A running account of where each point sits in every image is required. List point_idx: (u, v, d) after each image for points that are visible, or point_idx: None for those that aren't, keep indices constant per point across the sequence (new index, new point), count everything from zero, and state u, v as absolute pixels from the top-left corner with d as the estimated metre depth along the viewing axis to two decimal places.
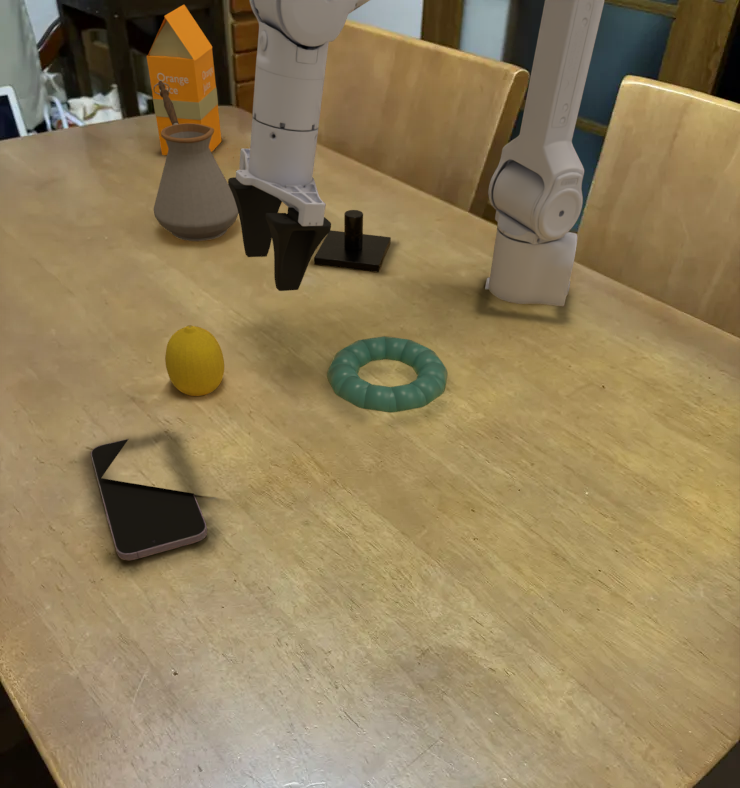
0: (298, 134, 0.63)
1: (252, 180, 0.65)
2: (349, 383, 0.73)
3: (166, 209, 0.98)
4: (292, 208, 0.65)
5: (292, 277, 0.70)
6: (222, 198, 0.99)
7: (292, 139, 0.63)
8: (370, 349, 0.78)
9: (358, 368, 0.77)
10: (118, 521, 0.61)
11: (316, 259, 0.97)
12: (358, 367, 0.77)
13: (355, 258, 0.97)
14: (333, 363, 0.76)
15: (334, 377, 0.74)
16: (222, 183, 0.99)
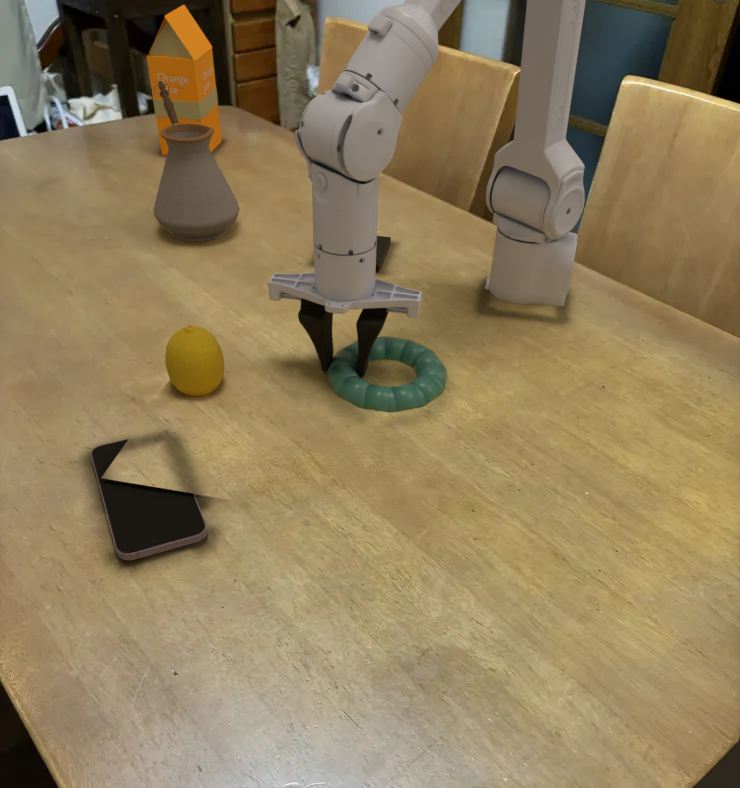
0: (375, 248, 0.67)
1: (348, 306, 0.69)
2: (349, 383, 0.73)
3: (166, 209, 0.98)
4: (386, 309, 0.71)
5: (367, 359, 0.76)
6: (222, 198, 0.99)
7: (373, 254, 0.67)
8: None
9: None
10: (118, 521, 0.61)
11: None
12: None
13: None
14: (333, 363, 0.76)
15: (334, 377, 0.74)
16: (222, 183, 0.99)
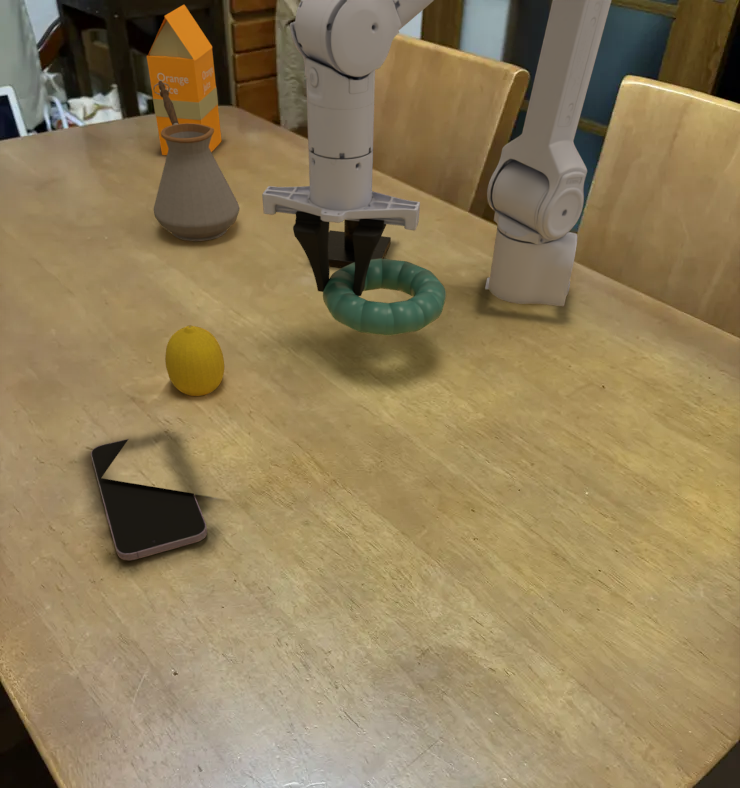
0: (372, 154, 0.66)
1: (345, 214, 0.67)
2: (345, 299, 0.71)
3: (166, 209, 0.98)
4: (383, 221, 0.69)
5: (364, 278, 0.74)
6: (222, 198, 0.99)
7: (370, 160, 0.66)
8: None
9: None
10: (118, 521, 0.61)
11: None
12: None
13: None
14: (329, 282, 0.74)
15: (330, 295, 0.73)
16: (222, 183, 0.99)
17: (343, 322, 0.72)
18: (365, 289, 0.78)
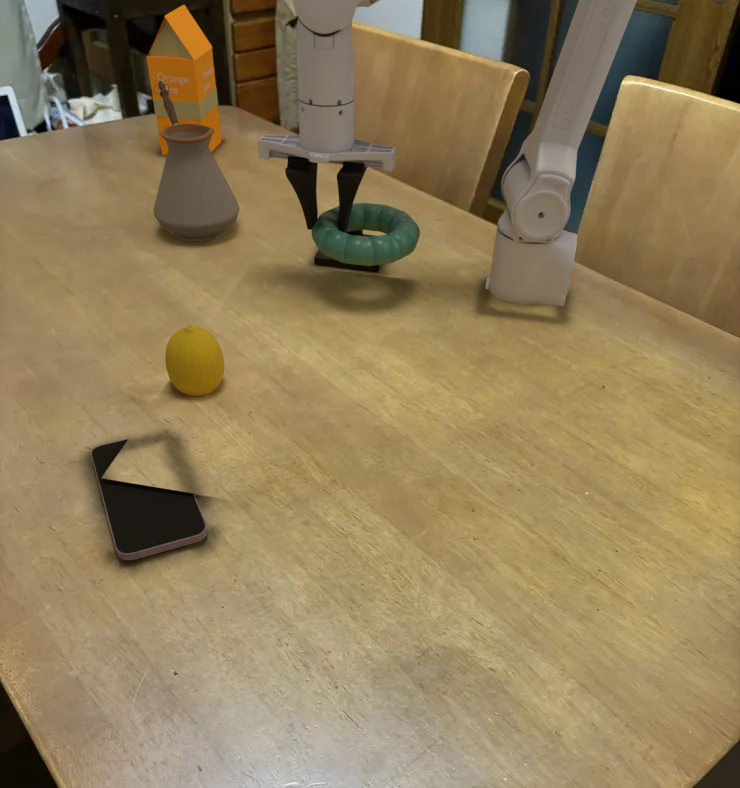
0: (353, 103, 0.76)
1: (329, 156, 0.77)
2: (331, 234, 0.82)
3: (166, 209, 0.98)
4: (363, 164, 0.80)
5: (348, 217, 0.85)
6: (222, 198, 0.99)
7: (351, 109, 0.76)
8: None
9: None
10: (118, 521, 0.61)
11: (316, 259, 0.97)
12: None
13: None
14: (317, 221, 0.84)
15: (317, 231, 0.83)
16: (222, 183, 0.99)
17: (329, 254, 0.82)
18: (349, 229, 0.88)
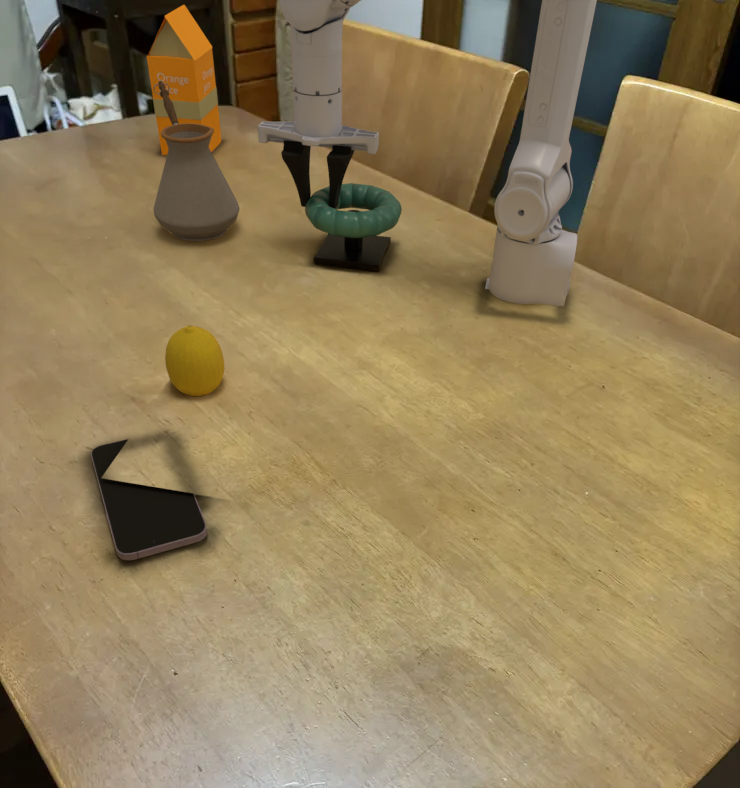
0: (341, 93, 0.87)
1: (320, 140, 0.88)
2: (322, 209, 0.92)
3: (166, 209, 0.98)
4: (350, 147, 0.90)
5: (337, 196, 0.95)
6: (222, 198, 0.99)
7: (339, 98, 0.87)
8: None
9: None
10: (118, 521, 0.61)
11: (316, 259, 0.97)
12: None
13: (355, 258, 0.97)
14: (309, 199, 0.95)
15: (310, 207, 0.93)
16: (222, 183, 0.99)
17: (320, 228, 0.93)
18: (339, 207, 0.98)
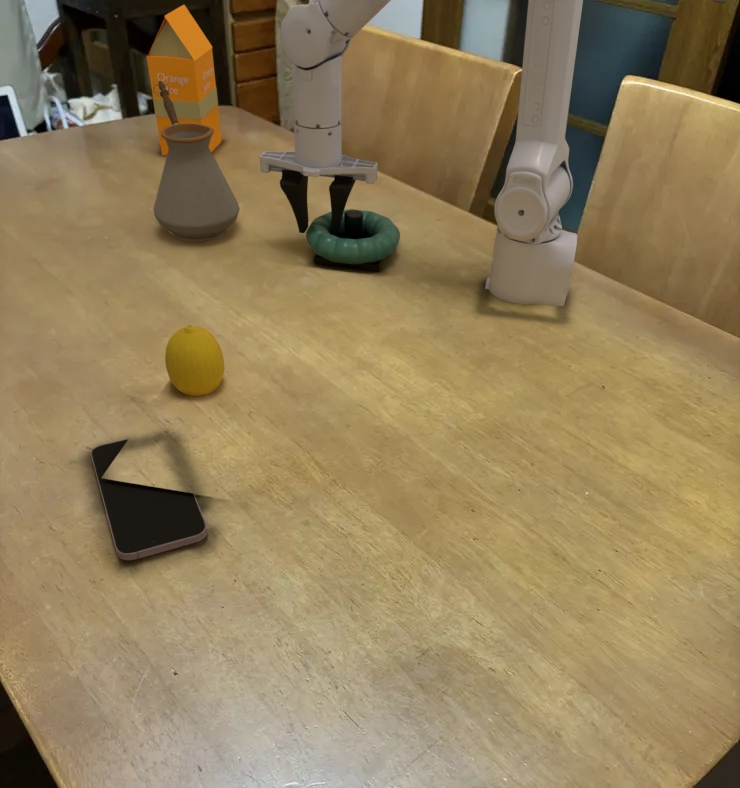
0: (340, 125, 0.89)
1: (320, 171, 0.90)
2: (323, 237, 0.95)
3: (166, 209, 0.98)
4: (350, 177, 0.92)
5: (339, 223, 0.97)
6: (222, 198, 0.99)
7: (339, 130, 0.89)
8: None
9: (330, 230, 0.98)
10: (118, 521, 0.61)
11: (316, 259, 0.97)
12: (330, 230, 0.98)
13: None
14: (310, 225, 0.97)
15: (311, 234, 0.96)
16: (222, 183, 0.99)
17: (321, 254, 0.95)
18: (339, 232, 1.01)
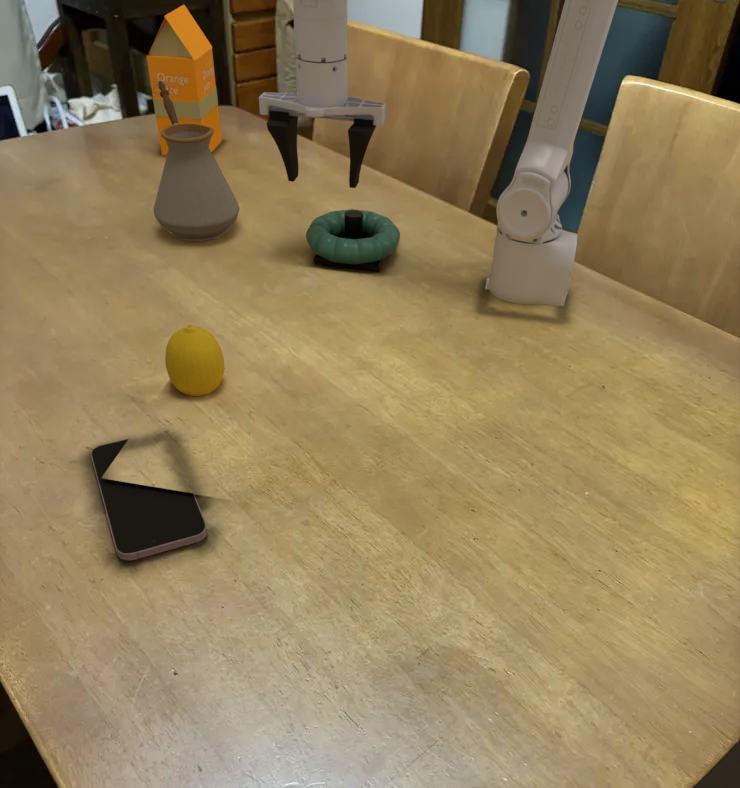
0: (346, 61, 0.82)
1: (324, 110, 0.83)
2: (323, 237, 0.95)
3: (166, 209, 0.98)
4: (356, 119, 0.86)
5: (358, 173, 0.90)
6: (222, 198, 0.99)
7: (344, 66, 0.82)
8: (339, 217, 0.99)
9: (330, 230, 0.98)
10: (118, 521, 0.61)
11: (316, 259, 0.97)
12: (330, 230, 0.98)
13: None
14: (310, 225, 0.97)
15: (311, 234, 0.96)
16: (222, 183, 0.99)
17: (321, 254, 0.95)
18: (339, 232, 1.01)
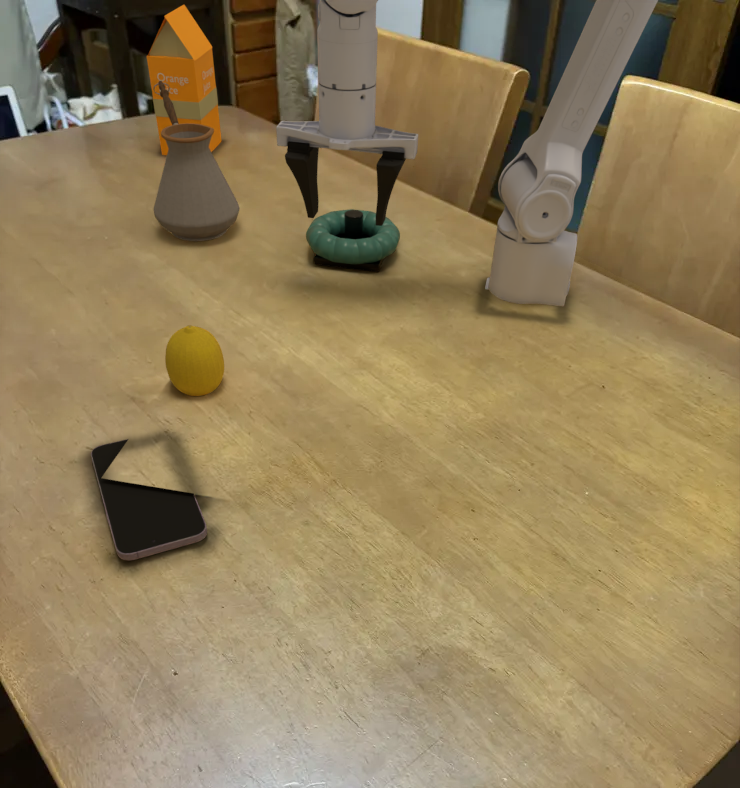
0: (375, 87, 0.73)
1: (350, 143, 0.74)
2: (323, 237, 0.95)
3: (166, 209, 0.98)
4: (385, 151, 0.77)
5: (385, 209, 0.82)
6: (222, 198, 0.99)
7: (373, 93, 0.73)
8: (339, 217, 0.99)
9: (330, 230, 0.98)
10: (118, 521, 0.61)
11: (316, 259, 0.97)
12: (330, 230, 0.98)
13: None
14: (310, 225, 0.97)
15: (311, 234, 0.96)
16: (222, 183, 0.99)
17: (321, 254, 0.95)
18: (339, 232, 1.01)
